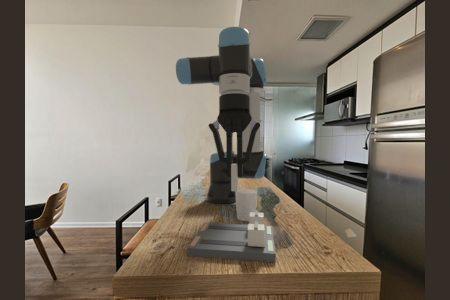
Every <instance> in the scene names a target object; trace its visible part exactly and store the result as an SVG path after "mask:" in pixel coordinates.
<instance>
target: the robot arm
mask: <svg viewBox="0 0 450 300" xmlns="http://www.w3.org/2000/svg"><path fill="white" fill-rule="evenodd" d="M218 35H219V36H218V44H217V47H218V54H217V55H211V56H209V55H208V56H196V57H195V56H194V57H184V58H183V57H182V58H179V59H178V60H176V63H175V74H176V79H177V81H178V82H179V84H181V85H188V86H189V85H200V84H201V85H203V84H212V85H214V86H218V93H219V97H218V99H219V100H218V103H219V104H218V105H219V106H218V111H219V112H218V115H217V119H216V120H215V121H214V122H212V123H209V124H208V127H209V130H210V131H211V132H212V136H213V139H214V142H215V143H214V144H215V148H216V151H217V152H214V153H211V154H210V160H209V172H210V173H209V174H210V175H209V176H210V179H209V180H210V182H209V188H208V189H207V193H206V201H207V202H209V203H211V204H212V203H213V204H230V203H232V204H233V203H236V196H235V191H238V189H239V179H247V180H248V179H253V180H255V179H257V180H258V179H260V180H261V179H262V178H264V176H265V171H266V162H267V153H264V149H263V148H262V146H261V93H262V92H263V91H264V87H266V86H267V83H268V82H267V74H266V68H265V62H264V59H262V58H259V57H258V58H254V57H251V51H250V48H251V47H250V46H251V41H250V33H249V31H248V30H247V29H246V28H245V27H242V26H241V27H240V26H228V27H226V28H224V29H222V30H221V31H220V32H219V34H218ZM220 127H222V129H223V130H224V132H225V134H226V135H225V137H226V141H225V142H226V144H225V145H226V148H225V149H226V151H225V150H224V146H223V143H222V138H221V134H220V131H219V130H220ZM234 133H236V153H235V151H234V150H233V135H234Z"/></svg>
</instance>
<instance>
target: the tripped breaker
mask: <svg viewBox="0 0 450 300" xmlns="http://www.w3.org/2000/svg"><path fill="white" fill-rule="evenodd" d="M247 225H248V246H257V247H265V229H264V225H265V223H264V224H258V222H255V224H249V223H248V224H247Z"/></svg>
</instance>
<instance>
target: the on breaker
mask: <svg viewBox="0 0 450 300" xmlns="http://www.w3.org/2000/svg"><path fill="white" fill-rule="evenodd" d="M264 219H265V216H264V212H259V210H257V209H256V210H255V212H250V216H249V221H248V222H249V223H248V224H255V222H258V224H264V225H265V220H264Z"/></svg>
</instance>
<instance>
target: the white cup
mask: <svg viewBox="0 0 450 300" xmlns="http://www.w3.org/2000/svg"><path fill="white" fill-rule="evenodd" d="M235 196H236V202H235V208H236V209H235V210H236V219H237V220H238V221H242V222H249V216H250V212H255V210H257V203H258V202H257V201H258V190H257V189H252V188H240V189H239V188H238V191H235Z"/></svg>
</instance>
